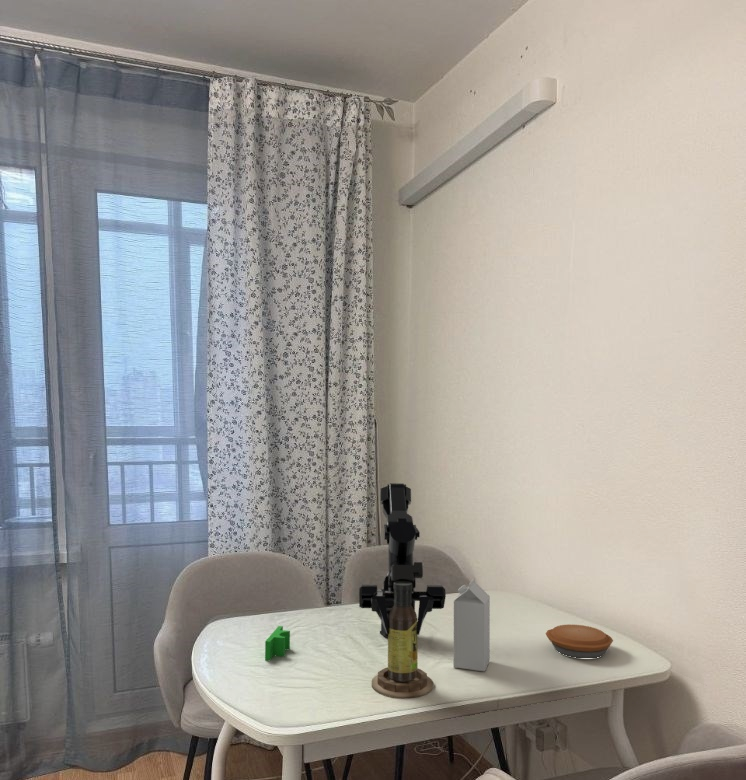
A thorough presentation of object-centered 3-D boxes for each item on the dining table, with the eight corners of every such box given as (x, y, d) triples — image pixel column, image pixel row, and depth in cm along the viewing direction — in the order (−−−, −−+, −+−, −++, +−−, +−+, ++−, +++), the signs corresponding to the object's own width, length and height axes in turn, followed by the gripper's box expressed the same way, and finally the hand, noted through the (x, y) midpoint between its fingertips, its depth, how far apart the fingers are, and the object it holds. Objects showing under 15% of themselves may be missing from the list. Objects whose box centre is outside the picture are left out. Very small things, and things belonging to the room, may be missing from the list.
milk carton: (489, 661, 152) (489, 578, 153) (484, 672, 145) (484, 586, 146) (459, 657, 154) (459, 576, 155) (453, 668, 147) (453, 583, 148)
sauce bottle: (419, 683, 135) (419, 586, 136) (388, 684, 135) (389, 586, 135) (415, 671, 141) (415, 578, 142) (386, 671, 141) (387, 579, 142)
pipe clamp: (280, 662, 151) (280, 642, 151) (264, 661, 151) (265, 641, 151) (293, 645, 162) (293, 626, 162) (278, 644, 162) (278, 625, 162)
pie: (626, 655, 157) (626, 634, 157) (582, 668, 148) (582, 645, 149) (575, 636, 170) (575, 617, 170) (532, 647, 162) (532, 626, 162)
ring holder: (413, 669, 147) (413, 660, 147) (445, 691, 135) (445, 681, 135) (361, 679, 141) (361, 669, 141) (389, 703, 129) (390, 692, 129)
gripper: (359, 547, 143) (358, 614, 132) (445, 548, 143) (450, 615, 132) (360, 574, 151) (358, 640, 139) (441, 575, 151) (446, 641, 139)
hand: (402, 633), depth 137 cm, fingers closed on sauce bottle, 6 cm apart
